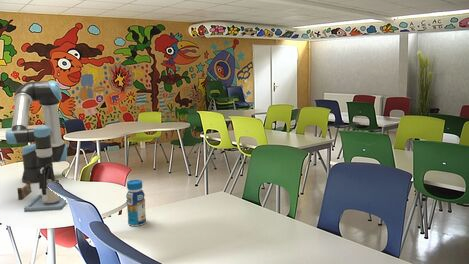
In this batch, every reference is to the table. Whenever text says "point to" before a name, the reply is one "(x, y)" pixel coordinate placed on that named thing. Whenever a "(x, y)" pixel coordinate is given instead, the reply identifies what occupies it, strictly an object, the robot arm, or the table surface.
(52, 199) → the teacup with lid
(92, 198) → the table surface
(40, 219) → the table surface
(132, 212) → the beverage bottle
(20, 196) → the walnut rack
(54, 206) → the tray
